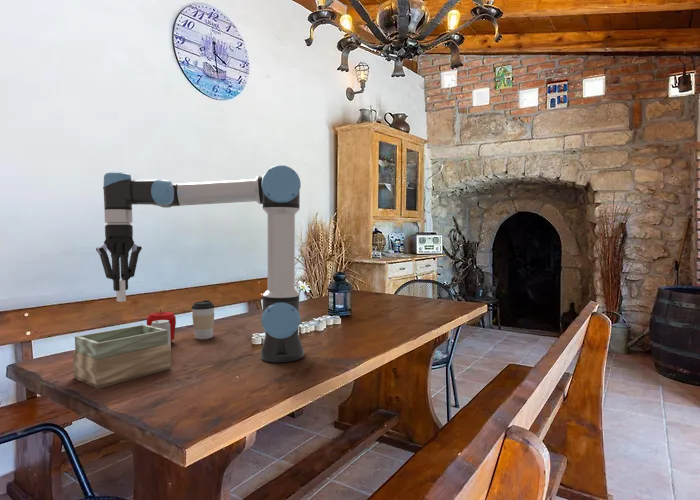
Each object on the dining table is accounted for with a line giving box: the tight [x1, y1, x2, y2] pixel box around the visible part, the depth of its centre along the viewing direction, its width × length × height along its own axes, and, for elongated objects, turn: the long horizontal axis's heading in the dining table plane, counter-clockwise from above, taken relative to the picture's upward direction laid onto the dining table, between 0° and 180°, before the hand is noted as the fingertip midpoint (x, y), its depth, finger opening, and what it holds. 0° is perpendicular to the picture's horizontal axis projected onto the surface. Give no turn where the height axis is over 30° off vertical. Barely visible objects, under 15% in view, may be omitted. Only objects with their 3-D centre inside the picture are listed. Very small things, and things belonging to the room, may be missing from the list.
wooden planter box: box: [72, 324, 172, 390], centre depth 138 cm, size 16×22×12 cm
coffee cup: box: [191, 299, 215, 340], centre depth 183 cm, size 9×9×15 cm
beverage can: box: [151, 320, 172, 352], centre depth 159 cm, size 6×6×12 cm
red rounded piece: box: [146, 309, 177, 342], centre depth 173 cm, size 10×10×14 cm
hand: (121, 301), depth 137 cm, fingers closed
